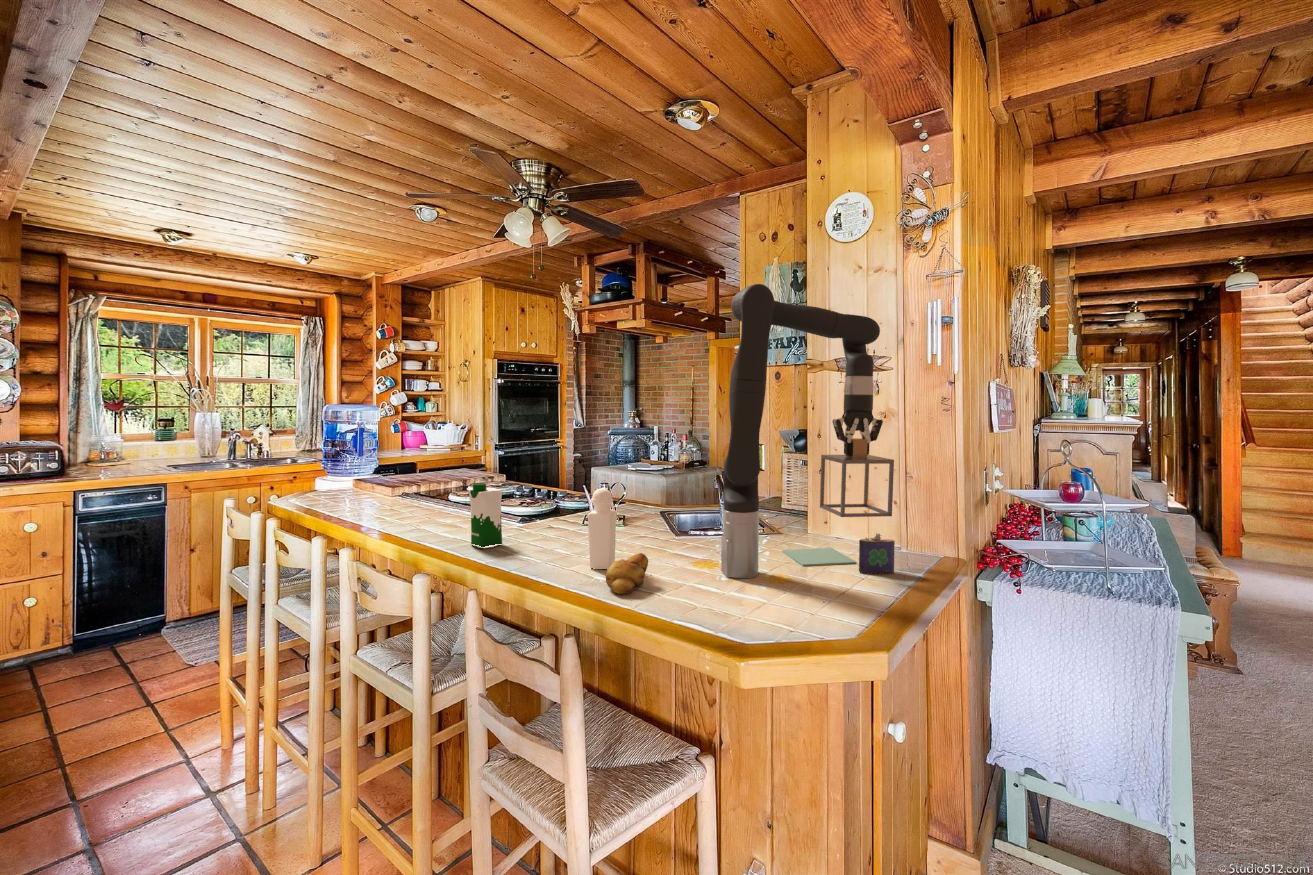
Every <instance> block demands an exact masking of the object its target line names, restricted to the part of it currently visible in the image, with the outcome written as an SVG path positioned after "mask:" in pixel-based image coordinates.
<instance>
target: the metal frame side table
mask: <svg viewBox="0 0 1313 875" xmlns="http://www.w3.org/2000/svg"><path fill="white" fill-rule="evenodd" d="M867 442H868V439H862V437H861V438H859V437H858V438H857V437H855V438H854V437H853V438H852V441H851V443H852V451H851V457H847V456H846V455H845V454H821V456H820V457H821V458H820V459H821V460H820V486H819V487H820V489H819V508H820V509H823V510H825V511H827V512H830V513H832V514H834V515H836V516H838V517H840V518H854V517H855V518H861V517H862V518H863V517H864V518H865V517H868V518H869V517H870V518H872V517H873V518H874V517H878V518H879V517H893V497H894V476H895V474H894V473H895V472H894V471H895V459H891V458H888V457H887V458H886V457H881V456H877V455H872V454H868V455H867ZM826 460H827V461H831V462H835V463H840V464H841V484H840V485H841V486H840V488H841V489H840V490H841V491H840V503H834V504H833V503H831V504H829V503H826V504H825V477H826V476H825V474H826V471H825V470H826V468H825V467H826ZM849 464H850V465H860V464H861V465H864V480H863V481H864V483H863V484H864V486H863V503H846V489H847V488H846V487H847V486H846V485H847V484H846V483H847V465H849ZM871 464H874V465H875V464H877V465H878V464H879V465H880V464H881V465H883V464H884V465H885V464H886V465H889V466H888V467H889V468H888V469H889V470H888V471H889V472H888V492H887V493H888V495H887V510H884V509H883V508H878V507H876V506H875V505H874V506H873V505H871V504H868V501H869V499H868V498H869V475H870V465H871ZM834 508H840V511H839V510H836V509H834ZM846 508H866V509H869V510H872V511H874V512H854V513H851V512H849V513H847V512H845V510H846Z"/></svg>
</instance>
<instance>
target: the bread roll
mask: <svg viewBox="0 0 1313 875" xmlns="http://www.w3.org/2000/svg"><path fill="white" fill-rule="evenodd" d="M648 566H649V559H648V556H647V555H646V554H644V553H641V552H639V553H636V554H633V555H631V556H629V557H628V558H627V559H626V560H625V559H623V558H622V559H618V560H615V561H614V562H613V563H612V565H611V566H610V568H609V569H608V570H606V574H605V575H604V576H605V582H606V584H607V587H608V588H609V589H612V591H613V592H614V593H615V594H621V595H626V594H630V593H632V592H633V591H634V590H636V589H638V588H640V587H642V585H643V584H644V581H645V580H644V579H645V575H646V572H647V569H648ZM635 588H636V589H635ZM629 592H630V593H629ZM625 593H626V594H625Z"/></svg>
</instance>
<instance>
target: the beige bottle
mask: <svg viewBox="0 0 1313 875" xmlns="http://www.w3.org/2000/svg"><path fill="white" fill-rule="evenodd" d="M590 502H591V503H592V505H593V509H594V510H591V512H589V513H588V514H587V526H588V527H587V528H588V551H589V569H590V568H595V569H609V568H610V566H611V565H612V563H613V562H614V561H616V560H615V559H616V536H617V535H616V534H617V532H616V531H617V530H616V529H617V511H616V510H615V509H611V504H612V503H613V502H614V498H613V496H612V493H611V492H610V490H608V489H607V488H603V487H601V488H598V489H596V490H595V491H593V494H592V496H591V499H590Z"/></svg>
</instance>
